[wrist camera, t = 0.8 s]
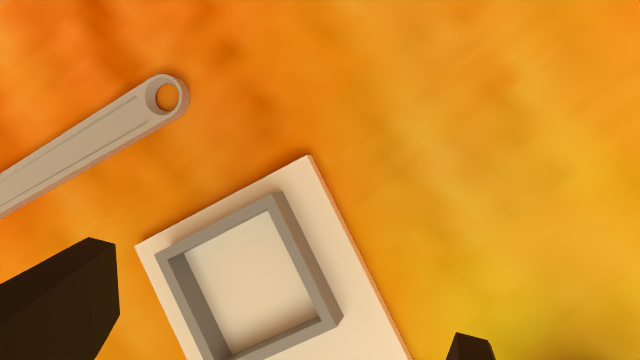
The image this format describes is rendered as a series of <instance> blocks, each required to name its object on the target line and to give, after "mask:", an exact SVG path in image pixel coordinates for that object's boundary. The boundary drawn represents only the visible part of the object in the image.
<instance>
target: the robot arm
mask: <svg viewBox="0 0 640 360" xmlns="http://www.w3.org/2000/svg"><path fill="white" fill-rule="evenodd" d="M119 315H120V308H119V293H118V277H117V262H116V247H115V244H113V243H109V242H106V241H102V240H98V239H94V238H90V237H88V238H86V239H84V240H82V241H80V242H78V243H76V244H74V245H72V246H71V247H69V248H67V249H65V250H63V251H61V252H59V253H58V254H56V255H54V256H52V257H50V258H48V259H47V260H45V261H43V262H41V263H39V264H37V265H36V266H34V267H32V268H30V269H28V270H26V271H24V272H22V273H21V274H19V275H17V276H15V277H13V278H11V279H9V280H7V281H5V282H4V283H2V284H0V360H94V359H95V357H96V356H97V354H98V353H99V351H100V349H101V347H102V346H103V344H104V342H105V341H106V339H107V337H108V335H109V334H110V332H111V330H112V328H113V326H114V324H115V323H116V321H117V319H118V317H119ZM446 360H496V359H495V356H494V353H493V350H492V347H491V345H490V343H489V342H488V340H485V339H481V338H477V337H473V336H469V335H465V334H462V333H458V332H456V334H455V336H454V339H453V342H452V345H451V347H450V350H449V353H448V355H447V358H446Z"/></svg>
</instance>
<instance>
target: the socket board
mask: <svg viewBox="0 0 640 360" xmlns="http://www.w3.org/2000/svg"><path fill="white" fill-rule="evenodd" d="M134 247H135V249H136V252H137V254H138V256H139V258H140V260H141V262H142V264H143V267H144V269H145V271H146V273H147V275H148V277H149V279H150V281H151V284H152V286H153V288H154V290H155V292H156V294H157V296H158V298H159V301H160V303H161V305H162V307H163V309H164V311H165V313H166V316H167V318H168V320H169V322H170V324H171V326H172V328H173V330H174V333H175V335H176V337H177V339H178V341H179V343H180V345H181V347H182V350H183V352H184V354H185V356H186V358H187V360H413V359H412V357H411V355H410V353H409V351H408V349H407V347H406V345H405V343H404V341H403V339H402V337H401V335H400V333H399V331H398V329H397V327H396V325H395V323H394V321H393V319H392V317H391V315H390V313H389V311H388V309H387V307H386V305H385V303H384V300H383V298H382V296H381V294H380V292H379V290H378V288H377V286H376V284H375V282H374V280H373V278H372V276H371V274H370V272H369V270H368V268H367V266H366V264H365V262H364V260H363V258H362V256H361V254H360V252H359V250H358V248H357V246H356V244H355V242H354V240H353V238H352V236H351V234H350V232H349V230H348V228H347V226H346V224H345V222H344V220H343V218H342V216H341V214H340V212H339V210H338V208H337V206H336V204H335V202H334V200H333V198H332V196H331V194H330V192H329V190H328V188H327V186H326V184H325V182H324V180H323V178H322V176H321V174H320V172H319V169H318V167H317V165H316V163H315V161H314V159H313V157H312V155H305V156H304V157H302V158H300V159H298V160H296V161H294V162H292V163H290V164H288V165H287V166H285V167H283V168H281V169H279V170H277V171H275V172H273V173H271V174H270V175H268V176H266V177H264V178H262V179H260V180H258V181H256V182H254V183H252V184H251V185H249V186H247V187H245V188H243V189H241V190H239V191H237V192H235V193H234V194H232V195H230V196H228V197H226V198H224V199H222V200H220V201H218V202H217V203H215V204H213V205H211V206H209V207H207V208H205V209H203V210H201V211H200V212H198V213H196V214H194V215H192V216H190V217H188V218H186V219H184V220H183V221H181V222H179V223H177V224H175V225H173V226H171V227H169V228H167V229H165V230H164V231H162V232H160V233H158V234H156V235H154V236H152V237H150V238H148V239H147V240H145V241H143V242H141V243H139V244H137V245H135V246H134Z"/></svg>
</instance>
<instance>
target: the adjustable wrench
mask: <svg viewBox="0 0 640 360" xmlns="http://www.w3.org/2000/svg"><path fill="white" fill-rule="evenodd" d="M163 84H172V85H174V86H175V87H177V89H178V91H179V101H178V105H177V106H176V108H175V109H174V110H172V111H163V110H161V109H160V108H159V107H158V106H157V103H156V93H157V91H158V89H159V87H160V86H162V85H163ZM189 103H190V93H189V89H188V87H187V86H186V84H185V83H184V82H183V81H182V80H181V79H179V78H176V77H173V76H170V75H166V74H158V75H155V76H153V77H151V78H149V79H148V80H146V81H145V82H143V83H142V84H140V85H138V86H137V87H135V88H134V89H132V90H131V91H129V92H127V93H126V94H124V95H123V96H121V97H120V98H118V99H116V100H115V101H113V102H112V103H110V104H109V105H107V106H105V107H104V108H102V109H101V110H99V111H98V112H96V113H94V114H93V115H91V116H90V117H88V118H87V119H85V120H83V121H82V122H80V123H79V124H77V125H76V126H74V127H73V128H71V129H69V130H68V131H66V132H65V133H63V134H62V135H60V136H58V137H57V138H55V139H54V140H52V141H51V142H49V143H47V144H46V145H44V146H43V147H41V148H40V149H38V150H36V151H35V152H33V153H32V154H30V155H29V156H27V157H25V158H24V159H22V160H21V161H19V162H18V163H16V164H14V165H13V166H11V167H10V168H8V169H7V170H5V171H3V172H2V173H0V219H1V218H3V217H5V216H6V215H8V214H10V213H12V212H13V211H15V210H17V209H19V208H20V207H22V206H24V205H26V204H28V203H29V202H31V201H33V200H35V199H36V198H38V197H40V196H42V195H43V194H45V193H47V192H49V191H50V190H52V189H54V188H56V187H58V186H59V185H61V184H63V183H65V182H66V181H68V180H70V179H72V178H73V177H75V176H77V175H79V174H81V173H82V172H84V171H86V170H88V169H89V168H91V167H93V166H95V165H96V164H98V163H100V162H102V161H103V160H105V159H107V158H109V157H111V156H112V155H114V154H116V153H118V152H119V151H121V150H123V149H125V148H126V147H128V146H130V145H132V144H133V143H135V142H137V141H139V140H141V139H142V138H144V137H146V136H148V135H149V134H151V133H153V132H155V131H156V130H158V129H160V128H162V127H163V126H165V125H167V124H169V123H171V122H172V121H174V120H176V119H178V118H179V117H181V116H182V115H183V114H184V113H185V112H186V110H187V109H188V107H189Z"/></svg>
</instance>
